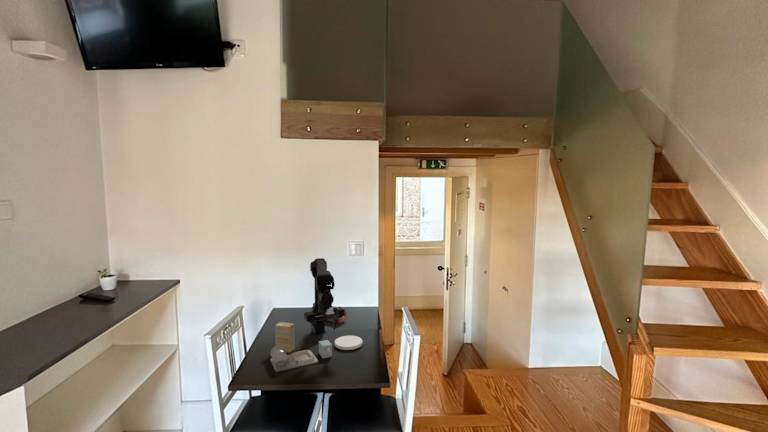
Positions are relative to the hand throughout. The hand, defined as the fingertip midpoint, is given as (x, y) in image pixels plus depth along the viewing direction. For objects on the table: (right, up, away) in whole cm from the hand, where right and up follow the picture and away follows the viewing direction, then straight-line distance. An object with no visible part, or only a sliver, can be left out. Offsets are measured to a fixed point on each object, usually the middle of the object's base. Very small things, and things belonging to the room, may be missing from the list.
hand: (324, 331), depth 181 cm
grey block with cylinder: (0, -12, +1) cm, 12 cm away
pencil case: (-5, -8, +48) cm, 49 cm away
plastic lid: (+10, -11, +12) cm, 19 cm away
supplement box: (-20, -11, +6) cm, 24 cm away
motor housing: (-13, -12, -6) cm, 19 cm away
